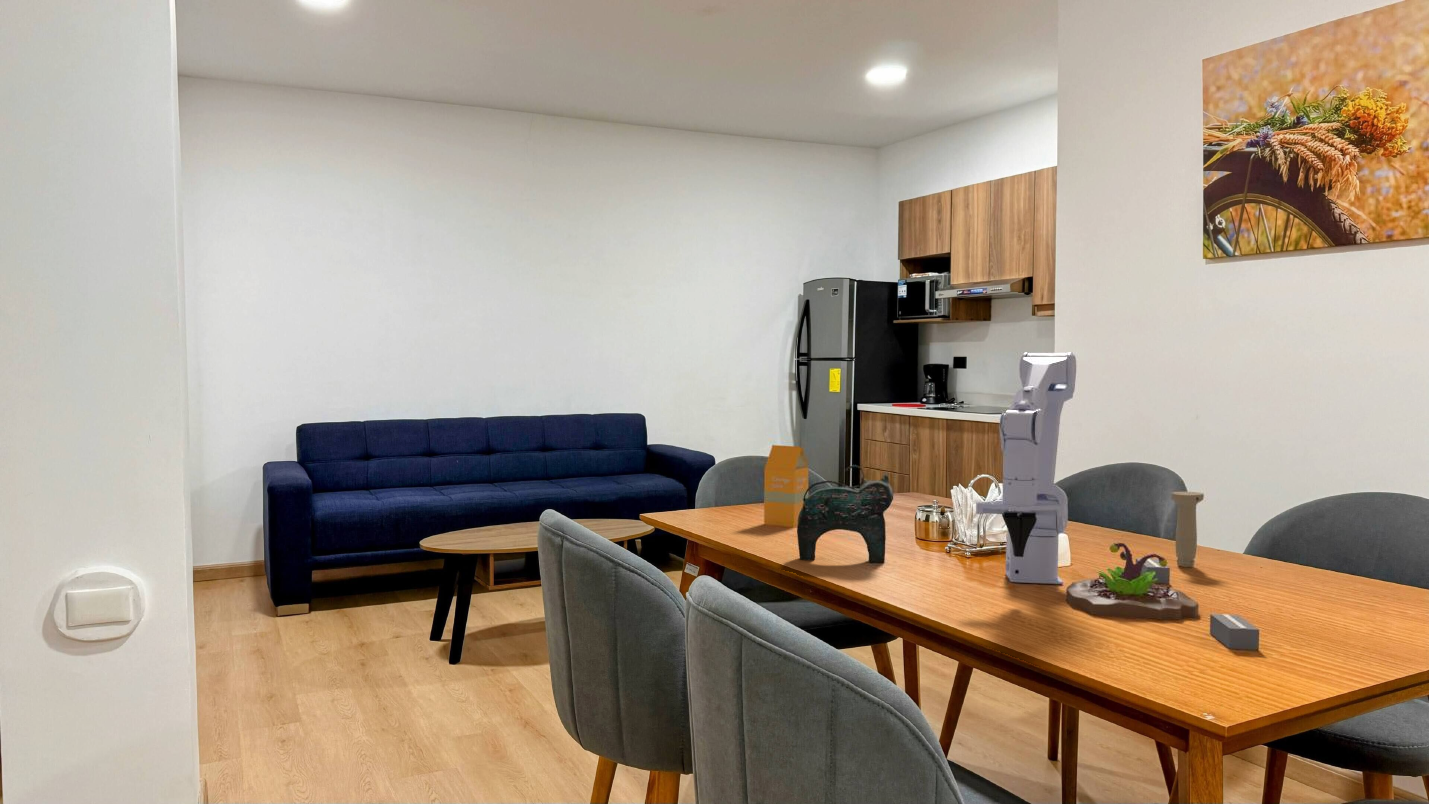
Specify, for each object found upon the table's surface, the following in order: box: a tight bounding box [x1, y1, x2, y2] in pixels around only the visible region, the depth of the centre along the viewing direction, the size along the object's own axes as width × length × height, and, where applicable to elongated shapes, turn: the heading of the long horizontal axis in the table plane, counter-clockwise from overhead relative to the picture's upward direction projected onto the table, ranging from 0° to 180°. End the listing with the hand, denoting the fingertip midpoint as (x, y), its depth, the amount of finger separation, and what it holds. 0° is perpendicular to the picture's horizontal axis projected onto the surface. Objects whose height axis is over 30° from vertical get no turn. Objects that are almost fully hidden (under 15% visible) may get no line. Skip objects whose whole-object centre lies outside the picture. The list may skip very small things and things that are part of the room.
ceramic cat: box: [796, 464, 894, 564], centre depth 198 cm, size 20×6×20 cm, turn 81°
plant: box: [1065, 542, 1200, 622], centre depth 163 cm, size 20×20×11 cm
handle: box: [1170, 491, 1205, 569], centre depth 194 cm, size 5×6×15 cm
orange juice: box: [763, 444, 810, 528], centre depth 244 cm, size 8×9×20 cm
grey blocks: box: [1135, 558, 1260, 651], centre depth 163 cm, size 4×50×3 cm, turn 171°
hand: (1018, 555), depth 167 cm, fingers closed
